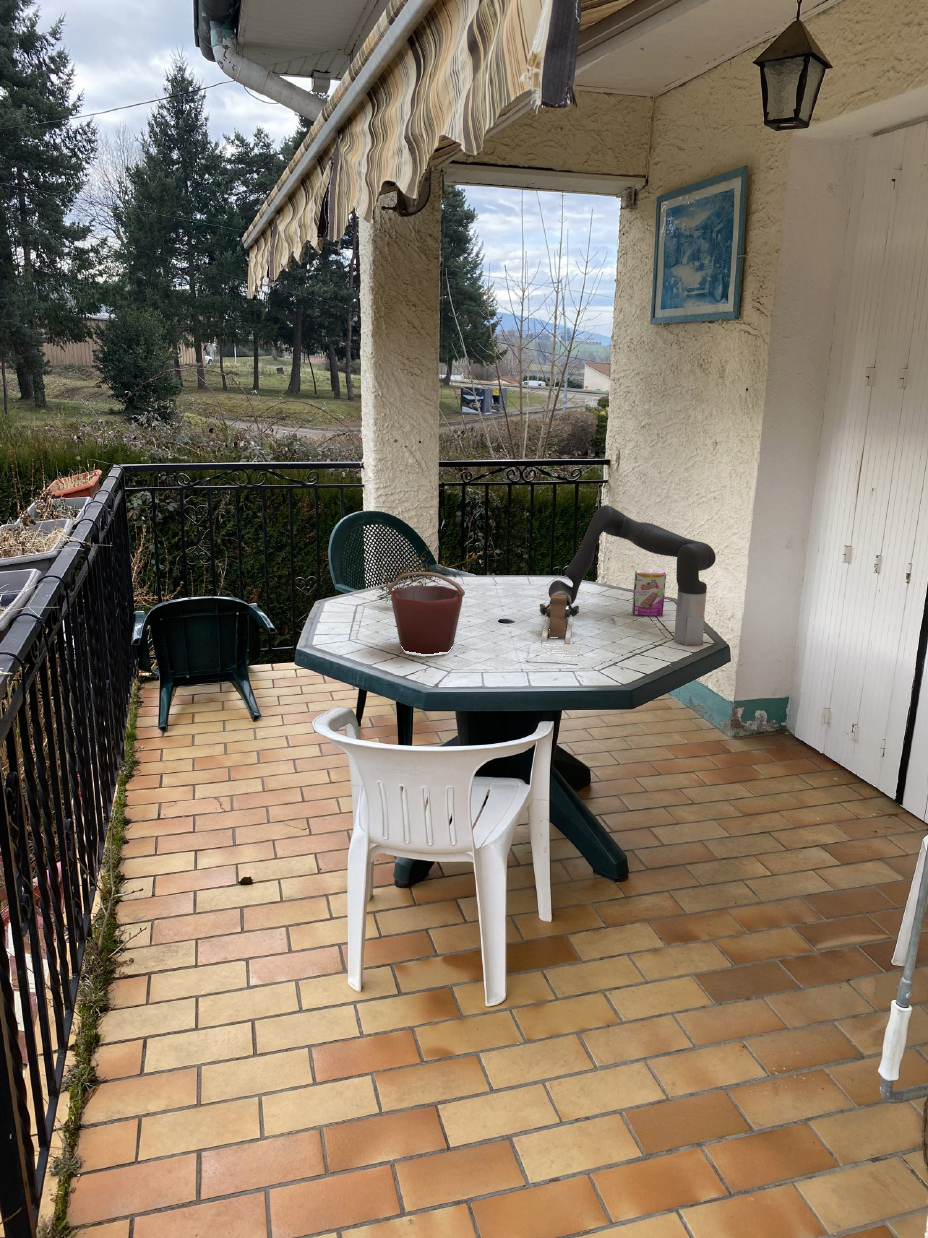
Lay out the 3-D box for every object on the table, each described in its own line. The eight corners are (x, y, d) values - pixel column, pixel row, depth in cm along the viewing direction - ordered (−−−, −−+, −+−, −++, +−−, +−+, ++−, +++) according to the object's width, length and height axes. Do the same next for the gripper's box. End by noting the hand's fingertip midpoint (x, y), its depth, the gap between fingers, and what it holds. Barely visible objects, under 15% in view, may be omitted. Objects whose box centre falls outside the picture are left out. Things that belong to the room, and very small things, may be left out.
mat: (531, 643, 296) (531, 642, 296) (580, 646, 294) (580, 645, 294) (526, 661, 277) (526, 660, 277) (578, 664, 275) (578, 663, 274)
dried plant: (347, 566, 325) (457, 522, 310) (380, 558, 354) (482, 517, 339) (378, 644, 327) (488, 604, 312) (408, 629, 356) (510, 592, 341)
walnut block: (550, 633, 307) (551, 594, 304) (564, 634, 307) (566, 594, 303) (549, 637, 303) (550, 597, 299) (564, 638, 302) (565, 598, 298)
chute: (546, 623, 321) (546, 616, 320) (572, 624, 319) (572, 617, 319) (541, 643, 296) (542, 635, 296) (569, 644, 295) (570, 637, 294)
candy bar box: (632, 616, 332) (635, 572, 328) (631, 612, 337) (634, 569, 333) (663, 617, 331) (666, 573, 327) (661, 613, 336) (665, 570, 332)
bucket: (376, 652, 284) (375, 575, 277) (408, 635, 303) (408, 562, 297) (446, 663, 274) (447, 583, 268) (475, 644, 294) (476, 570, 287)
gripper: (540, 592, 316) (536, 603, 300) (581, 594, 314) (579, 605, 298) (539, 612, 318) (535, 625, 302) (580, 614, 316) (578, 627, 300)
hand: (557, 615), depth 300 cm, fingers closed on walnut block, 5 cm apart
